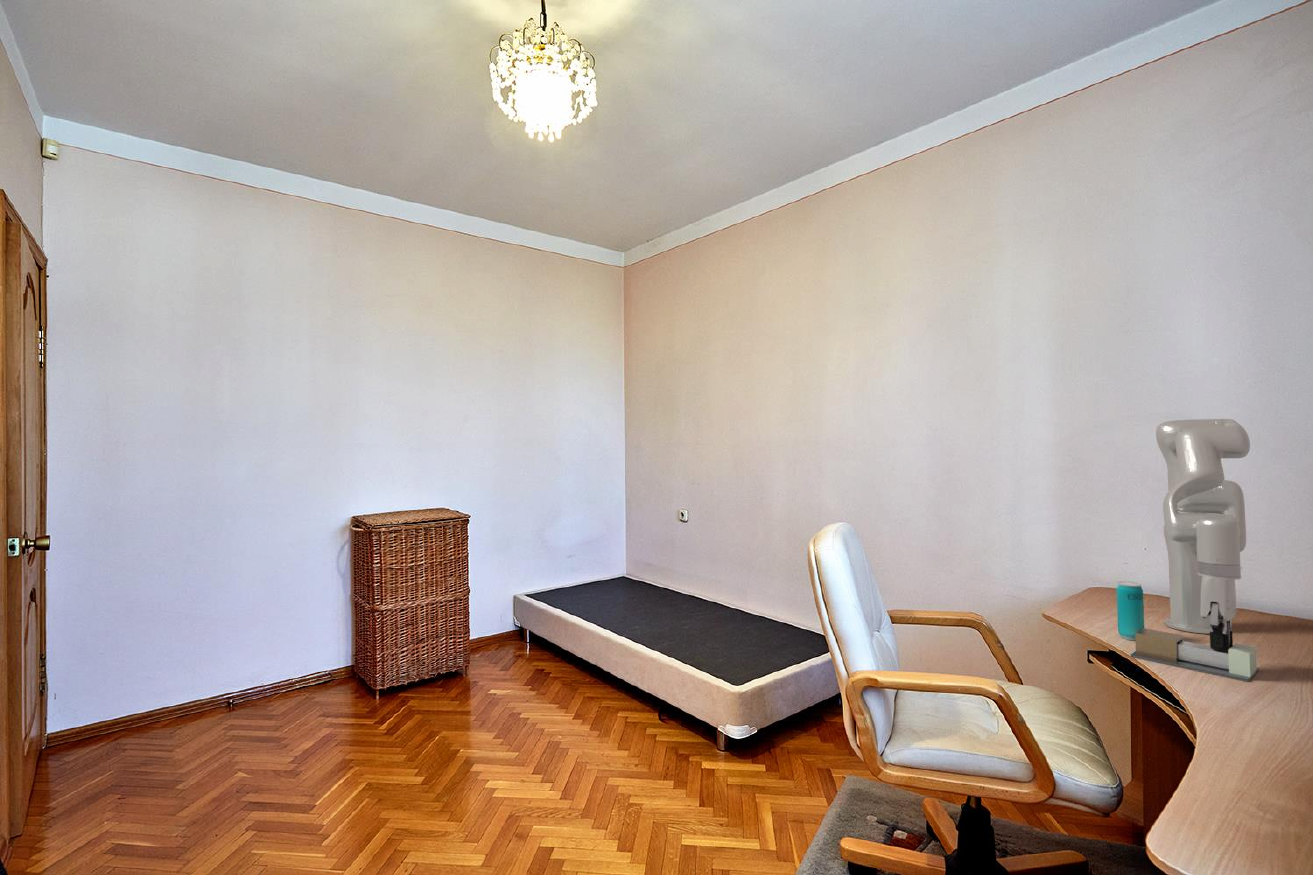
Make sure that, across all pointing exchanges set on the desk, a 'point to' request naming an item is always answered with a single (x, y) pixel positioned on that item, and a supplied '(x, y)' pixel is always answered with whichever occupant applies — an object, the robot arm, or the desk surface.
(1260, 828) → the desk surface
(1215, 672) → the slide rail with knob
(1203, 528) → the robot arm
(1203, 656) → the grey slider block
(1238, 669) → the socket
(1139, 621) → the beverage can
